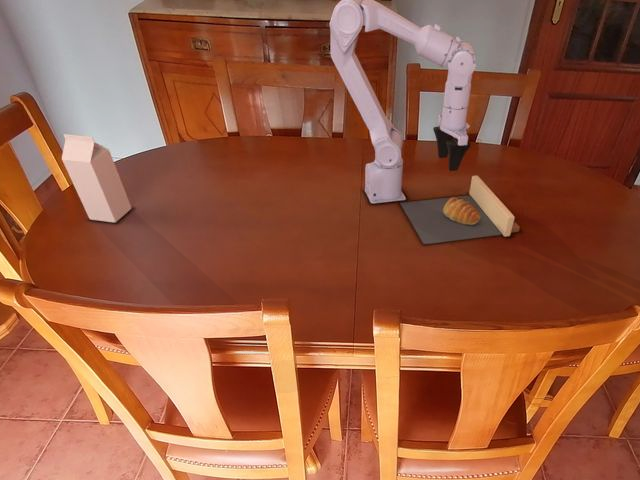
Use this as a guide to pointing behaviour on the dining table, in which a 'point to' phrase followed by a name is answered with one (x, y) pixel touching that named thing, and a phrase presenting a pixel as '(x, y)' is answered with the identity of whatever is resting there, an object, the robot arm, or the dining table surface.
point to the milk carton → (95, 178)
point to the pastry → (461, 211)
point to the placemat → (445, 222)
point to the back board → (493, 207)
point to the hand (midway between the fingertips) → (447, 163)
